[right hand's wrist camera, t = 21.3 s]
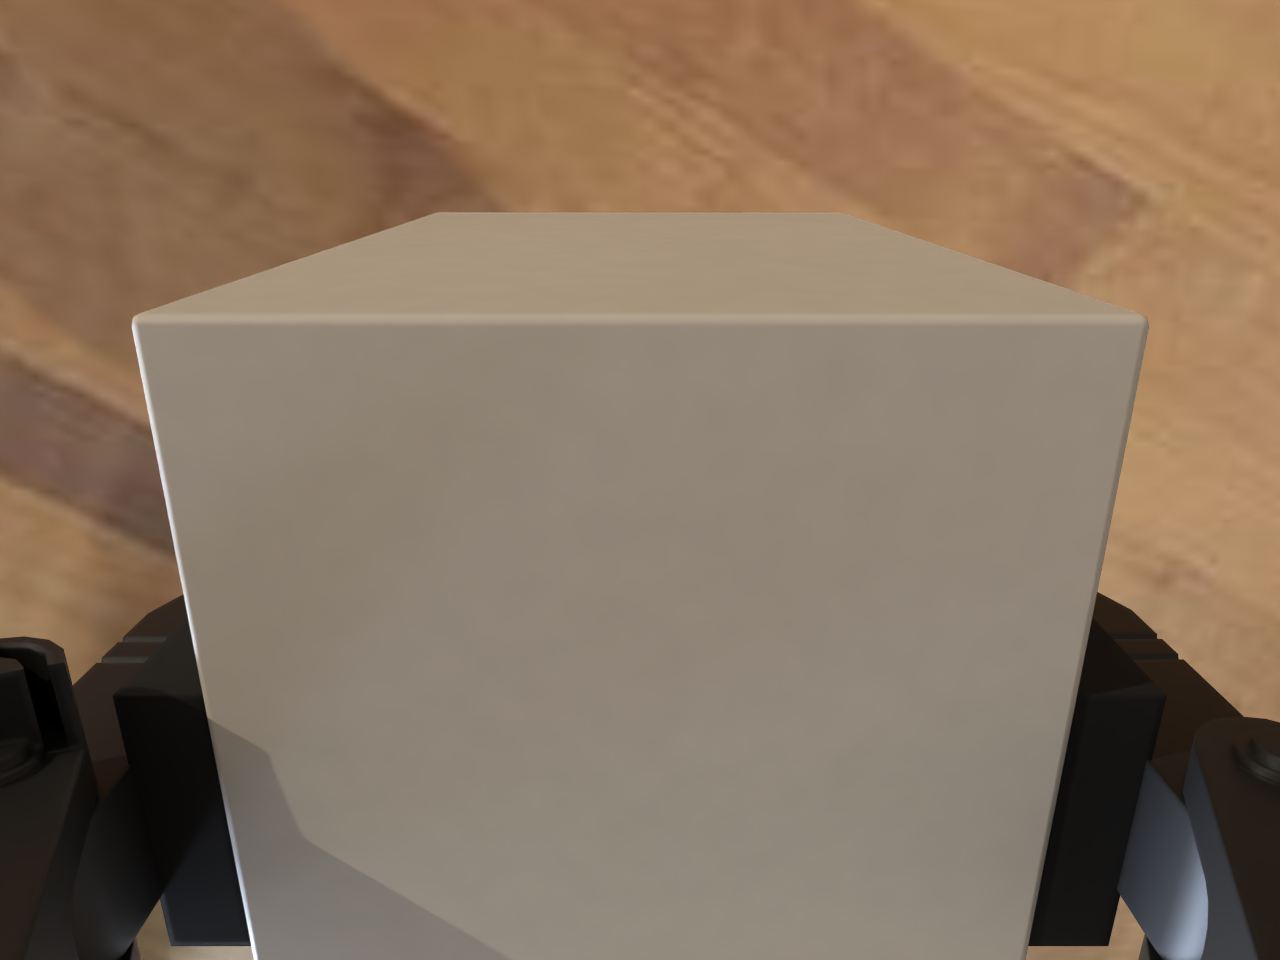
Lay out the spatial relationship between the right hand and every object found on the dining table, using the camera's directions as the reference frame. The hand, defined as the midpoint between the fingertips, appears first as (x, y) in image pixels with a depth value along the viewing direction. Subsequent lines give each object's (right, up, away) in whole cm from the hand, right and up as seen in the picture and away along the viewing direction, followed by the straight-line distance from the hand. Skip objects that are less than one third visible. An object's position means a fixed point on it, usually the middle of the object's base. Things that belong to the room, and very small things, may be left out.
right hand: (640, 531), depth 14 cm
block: (0, +1, +3) cm, 4 cm away
